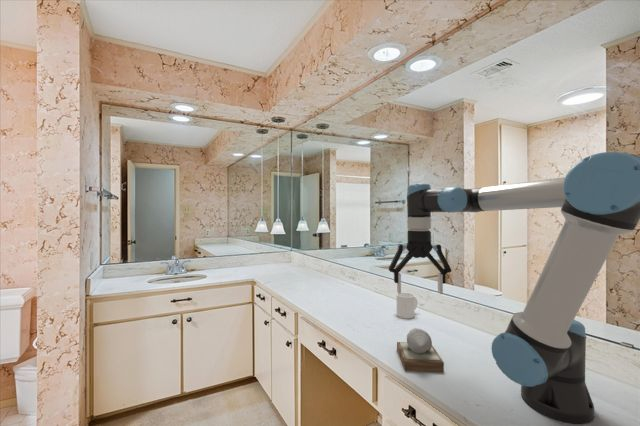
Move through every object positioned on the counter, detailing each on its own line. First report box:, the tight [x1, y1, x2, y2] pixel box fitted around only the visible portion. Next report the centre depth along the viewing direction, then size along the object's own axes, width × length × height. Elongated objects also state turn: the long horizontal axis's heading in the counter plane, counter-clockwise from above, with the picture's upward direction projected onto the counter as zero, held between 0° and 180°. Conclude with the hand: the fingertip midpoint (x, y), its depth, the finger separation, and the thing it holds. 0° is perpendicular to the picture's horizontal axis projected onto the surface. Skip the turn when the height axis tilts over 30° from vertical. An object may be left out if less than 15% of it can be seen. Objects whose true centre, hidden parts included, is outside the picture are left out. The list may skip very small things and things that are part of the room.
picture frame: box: [396, 341, 445, 373], centre depth 102 cm, size 14×12×3 cm
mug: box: [396, 291, 418, 320], centre depth 146 cm, size 12×8×10 cm
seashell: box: [406, 327, 433, 354], centre depth 104 cm, size 9×11×15 cm
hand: (419, 293), depth 102 cm, fingers open, 13 cm apart
